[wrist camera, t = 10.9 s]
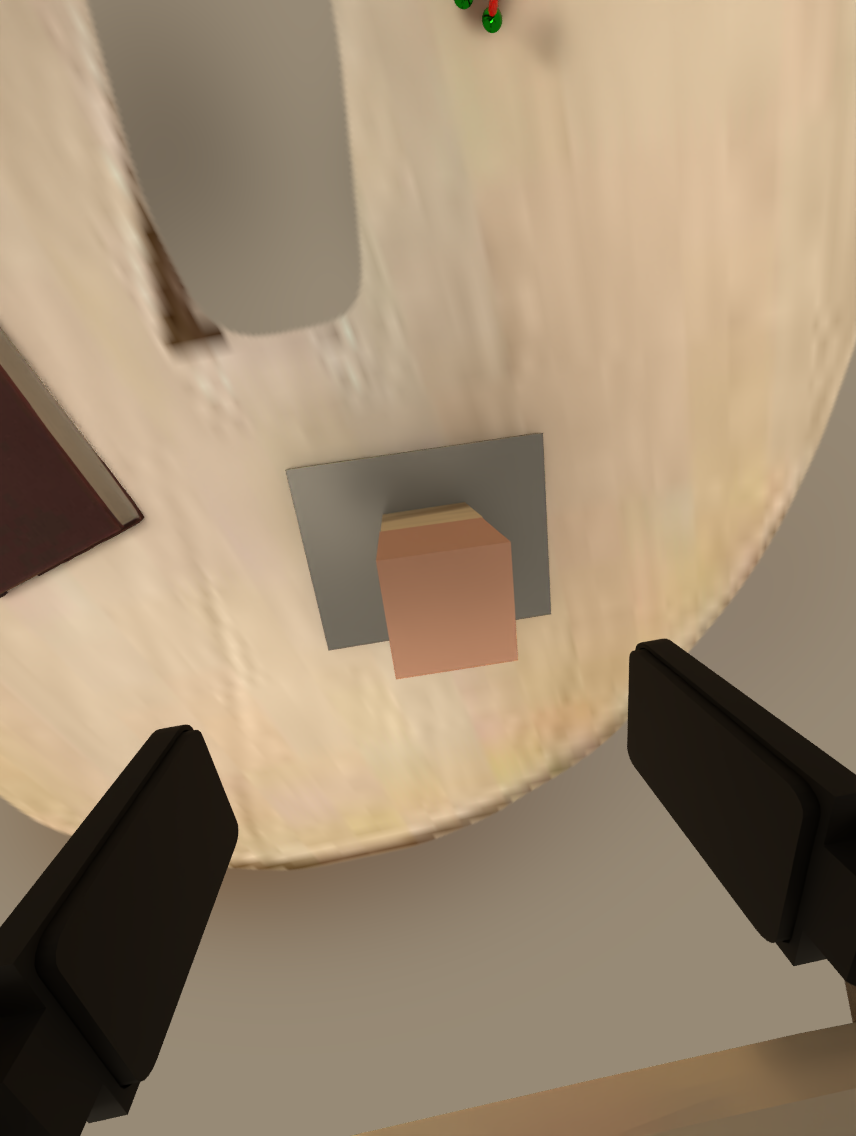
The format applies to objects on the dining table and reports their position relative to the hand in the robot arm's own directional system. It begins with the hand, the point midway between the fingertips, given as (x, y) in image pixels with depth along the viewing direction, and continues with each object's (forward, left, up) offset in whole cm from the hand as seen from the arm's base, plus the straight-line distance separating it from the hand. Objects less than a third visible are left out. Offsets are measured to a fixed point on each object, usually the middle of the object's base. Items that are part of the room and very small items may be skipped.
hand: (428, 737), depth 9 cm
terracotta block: (+2, +2, -16) cm, 16 cm away
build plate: (+2, +2, -23) cm, 23 cm away
